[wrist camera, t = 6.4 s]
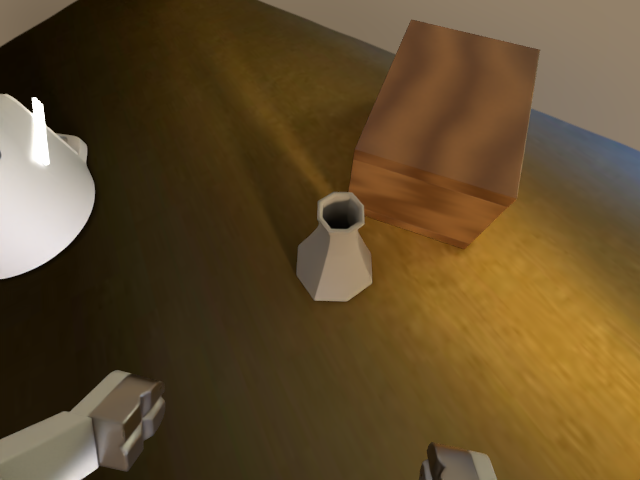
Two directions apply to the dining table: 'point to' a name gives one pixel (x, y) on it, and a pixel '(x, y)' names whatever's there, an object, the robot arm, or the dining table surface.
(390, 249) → the dining table surface
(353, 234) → the flask
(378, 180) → the shelf
